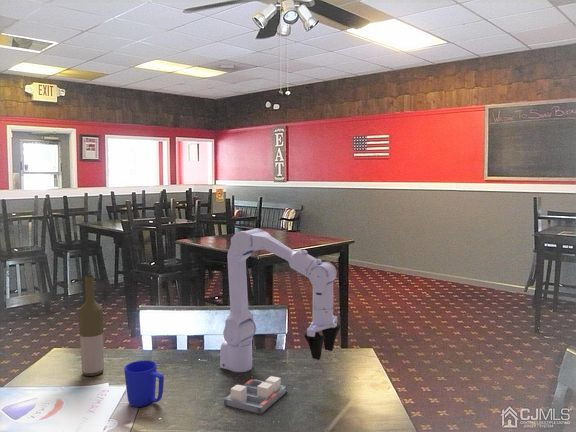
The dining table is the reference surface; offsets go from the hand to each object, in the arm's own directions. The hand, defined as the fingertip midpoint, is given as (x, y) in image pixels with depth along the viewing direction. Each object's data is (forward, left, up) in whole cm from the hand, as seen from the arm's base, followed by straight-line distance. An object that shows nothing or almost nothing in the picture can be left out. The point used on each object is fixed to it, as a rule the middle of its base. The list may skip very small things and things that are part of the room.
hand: (322, 354), depth 139 cm
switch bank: (-13, -15, -10) cm, 22 cm away
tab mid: (-10, -15, -9) cm, 20 cm away
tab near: (-15, -19, -9) cm, 26 cm away
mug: (-38, -29, -10) cm, 49 cm away
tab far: (-10, -11, -9) cm, 17 cm away
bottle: (-67, -21, -10) cm, 71 cm away
